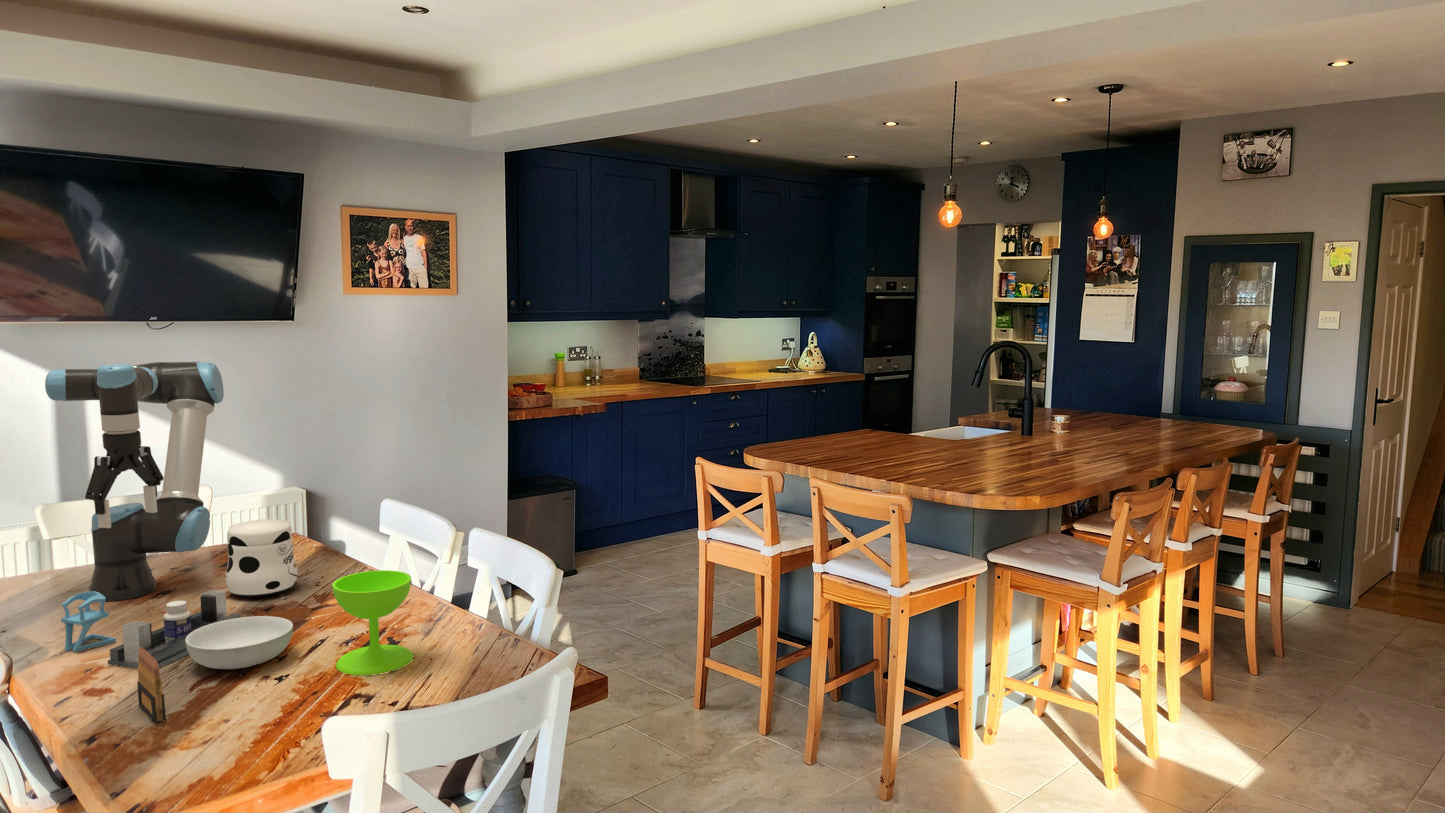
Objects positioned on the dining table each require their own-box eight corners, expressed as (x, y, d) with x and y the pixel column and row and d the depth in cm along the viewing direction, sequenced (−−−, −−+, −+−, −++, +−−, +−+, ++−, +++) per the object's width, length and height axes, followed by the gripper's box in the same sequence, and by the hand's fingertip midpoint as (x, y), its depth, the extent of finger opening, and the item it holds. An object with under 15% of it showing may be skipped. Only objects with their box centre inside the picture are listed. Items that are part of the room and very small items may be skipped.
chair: (57, 650, 212) (52, 598, 211) (92, 637, 220) (88, 587, 219) (81, 654, 210) (77, 602, 208) (117, 641, 217) (112, 590, 216)
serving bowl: (315, 650, 213) (314, 620, 212) (240, 686, 193) (238, 654, 193) (243, 639, 220) (241, 610, 219) (163, 673, 200) (161, 641, 199)
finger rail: (200, 624, 229) (198, 587, 228) (243, 628, 226) (241, 591, 225) (107, 664, 204) (104, 624, 203) (154, 670, 201) (151, 629, 200)
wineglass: (339, 681, 196) (336, 597, 194) (332, 655, 210) (328, 576, 208) (420, 668, 203) (417, 586, 201) (407, 643, 217) (404, 566, 215)
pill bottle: (179, 646, 212) (177, 607, 211) (159, 644, 213) (156, 606, 212) (197, 638, 217) (195, 600, 216) (177, 636, 218) (175, 598, 217)
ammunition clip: (138, 706, 184) (134, 646, 183) (149, 703, 185) (145, 644, 184) (154, 723, 177) (150, 661, 175) (166, 720, 178) (162, 659, 176)
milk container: (312, 589, 256) (309, 523, 254) (250, 606, 242) (247, 537, 240) (274, 578, 266) (270, 515, 264) (212, 594, 251) (208, 528, 249)
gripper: (149, 421, 234) (156, 505, 238) (60, 440, 210) (69, 533, 213) (175, 422, 233) (182, 507, 236) (89, 441, 209) (98, 535, 212)
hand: (128, 519), depth 225 cm, fingers open, 13 cm apart
